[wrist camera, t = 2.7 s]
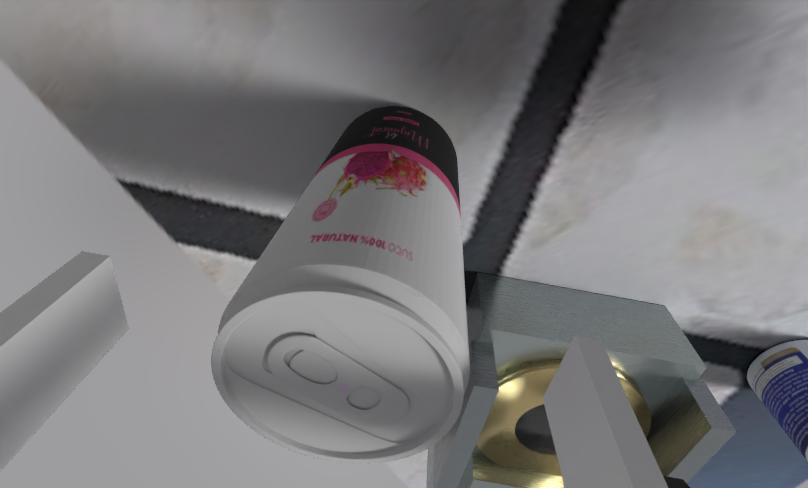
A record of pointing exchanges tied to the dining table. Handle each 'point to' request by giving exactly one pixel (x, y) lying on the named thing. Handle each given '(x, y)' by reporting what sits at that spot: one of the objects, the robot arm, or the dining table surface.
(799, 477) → the dining table surface
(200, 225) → the dining table surface
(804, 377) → the pill bottle
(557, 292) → the brass dish housing
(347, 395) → the beverage can
